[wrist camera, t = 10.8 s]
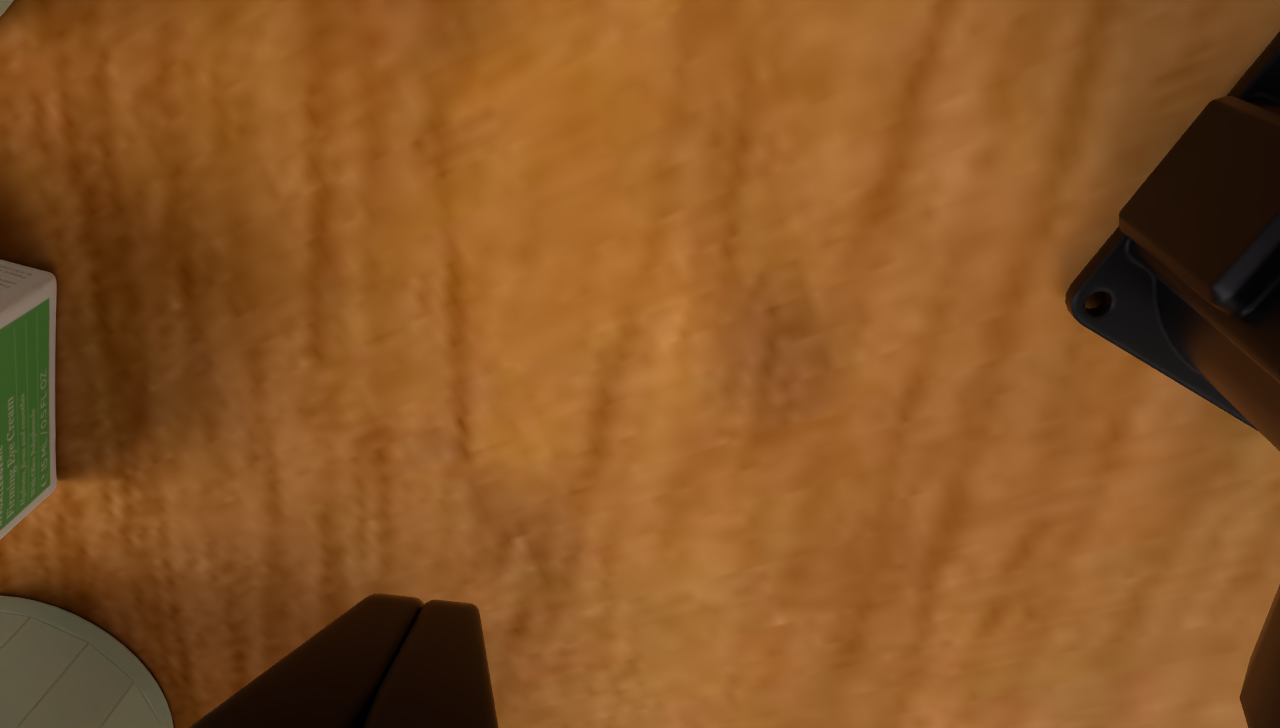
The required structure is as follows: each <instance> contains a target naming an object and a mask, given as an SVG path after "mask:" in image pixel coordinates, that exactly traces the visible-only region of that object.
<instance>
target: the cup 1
mask: <svg viewBox="0 0 1280 728" xmlns="http://www.w3.org/2000/svg"><path fill="white" fill-rule="evenodd" d="M13 1H14V0H0V16H1V15H3V14H4V12H5V11H6V10H7V8H8V7H9V6H10V5H11V3H12V2H13Z"/></svg>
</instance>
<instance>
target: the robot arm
mask: <svg viewBox="0 0 1280 728" xmlns="http://www.w3.org/2000/svg"><path fill="white" fill-rule="evenodd" d="M1100 291H1102V292H1105V299H1104V301H1103V303H1102V304H1100V305H1099V306H1098V307H1096V308H1091V309H1088V308H1085V303H1086V301H1087V299H1088V297H1089V296H1091V295H1092V294H1093V293H1096V292H1100ZM1065 303H1066V305H1067V308H1068V311H1069V312H1070V313H1071V314H1072V315H1073V317H1074V318H1075V319H1076V320H1077V321H1078V322H1079V323H1080V324H1081V325H1083V326H1085V327H1086V328H1088V329H1090V330H1091V331H1093V332H1095V333H1096V334H1098V335H1100V336H1101V337H1103V338H1105V339H1106V340H1108V341H1110V342H1111V343H1113V344H1115V345H1116V346H1118V347H1120V348H1121V349H1123V350H1125V351H1126V352H1128V353H1130V354H1131V355H1133V356H1135V357H1136V358H1138V359H1140V360H1141V361H1143V362H1145V363H1146V364H1148V365H1150V366H1151V367H1153V368H1155V369H1156V370H1158V371H1159V372H1161V373H1163V374H1164V375H1166V376H1168V377H1169V378H1171V379H1173V380H1174V381H1176V382H1178V383H1179V384H1181V385H1183V386H1184V387H1186V388H1188V389H1189V390H1191V391H1193V392H1194V393H1196V394H1198V395H1199V396H1201V397H1203V398H1204V399H1206V400H1208V401H1209V402H1211V403H1213V404H1214V405H1216V406H1218V407H1219V408H1221V409H1223V410H1224V411H1226V412H1228V413H1229V414H1231V415H1233V416H1234V417H1236V418H1238V419H1239V420H1241V421H1243V422H1244V423H1246V424H1248V425H1249V426H1251V427H1252V428H1254V429H1256V430H1257V431H1259V432H1260V433H1261V434H1262V435H1263V436H1265V437H1266V438H1267V439H1268V440H1269V441H1270V442H1271V443H1272V444H1273V445H1274V446H1275V447H1276V448H1277V449H1278V450H1279V451H1280V32H1279V33H1278V34H1277V35H1276V37H1275V38H1274V39H1273V40H1272V41H1271V43H1270V44H1269V45H1268V46H1267V48H1266V49H1265V50H1264V51H1263V52H1262V54H1261V55H1260V56H1259V57H1258V58H1257V60H1256V61H1255V62H1254V63H1253V64H1252V66H1251V67H1250V68H1249V69H1248V71H1247V72H1246V73H1245V74H1244V75H1243V77H1242V78H1241V79H1240V80H1239V81H1238V83H1237V84H1236V85H1235V86H1234V88H1233V89H1232V90H1231V91H1230V92H1229V94H1228V95H1227V96H1226V97H1223V98H1220V99H1216V100H1213V101H1211V102H1210V103H1209V104H1208V105H1207V106H1206V107H1205V109H1204V110H1203V111H1202V112H1201V114H1200V115H1199V116H1198V117H1197V118H1196V120H1195V121H1194V122H1193V123H1192V124H1191V126H1190V127H1189V128H1188V129H1187V131H1186V132H1185V133H1184V134H1183V135H1182V137H1181V138H1180V139H1179V140H1178V142H1177V143H1176V144H1175V145H1174V146H1173V148H1172V149H1171V150H1170V151H1169V153H1168V154H1167V155H1166V156H1165V157H1164V159H1163V160H1162V161H1161V162H1160V164H1159V165H1158V166H1157V167H1156V168H1155V170H1154V171H1153V172H1152V173H1151V174H1150V176H1149V177H1148V178H1147V179H1146V181H1145V182H1144V183H1143V184H1142V185H1141V187H1140V188H1139V189H1138V190H1137V192H1136V193H1135V194H1134V195H1133V196H1132V198H1131V199H1130V200H1129V201H1128V203H1127V204H1126V205H1125V206H1124V207H1123V209H1122V210H1121V211H1120V214H1119V227H1118V228H1117V229H1116V231H1115V232H1114V233H1113V234H1112V235H1111V237H1110V238H1109V239H1108V240H1107V241H1106V243H1105V244H1104V245H1103V246H1102V247H1101V249H1100V250H1099V251H1098V252H1097V254H1096V255H1095V256H1094V257H1093V258H1092V260H1091V261H1090V262H1089V263H1088V264H1087V266H1086V267H1085V268H1084V269H1083V271H1082V272H1081V273H1080V274H1079V275H1078V277H1077V278H1076V279H1075V280H1074V281H1073V283H1072V284H1071V286H1070V287H1069V289H1068V291H1067V293H1066V301H1065ZM1240 701H1241V704H1242V707H1243V711H1244V714H1245V718H1246V721H1247V724H1248V728H1280V586H1279V588H1278V591H1277V593H1276V596H1275V598H1274V601H1273V603H1272V606H1271V608H1270V611H1269V613H1268V616H1267V618H1266V621H1265V623H1264V626H1263V628H1262V631H1261V633H1260V636H1259V638H1258V641H1257V643H1256V646H1255V648H1254V651H1253V653H1252V656H1251V658H1250V662H1249V665H1248V669H1247V673H1246V676H1245V680H1244V684H1243V687H1242V691H1241V695H1240ZM189 728H498V723H497V717H496V711H495V705H494V699H493V693H492V687H491V680H490V674H489V668H488V662H487V656H486V650H485V644H484V638H483V632H482V626H481V620H480V614H479V610H478V608H477V607H476V606H475V605H473V604H470V603H461V602H451V601H442V600H431V601H429V602H427V603H425V605H424V603H423V602H422V601H421V600H420V599H418V598H415V597H406V596H397V595H388V594H373V595H370V596H368V597H366V598H365V599H363V600H362V601H360V602H359V603H358V604H356V605H355V606H354V607H352V608H351V609H350V610H348V611H347V612H346V613H344V614H343V615H341V616H340V617H339V618H337V619H336V620H335V621H333V622H332V623H331V624H329V625H328V626H326V627H325V628H324V629H322V630H321V631H320V632H318V633H317V634H316V635H314V636H313V637H312V638H310V639H309V640H307V641H306V642H305V643H303V644H302V645H301V646H299V647H298V648H297V649H295V650H294V651H292V652H291V653H290V654H288V655H287V656H286V657H284V658H283V659H282V660H280V661H279V662H278V663H276V664H275V665H273V666H272V667H271V668H269V669H268V670H267V671H265V672H264V673H263V674H261V675H260V676H258V677H257V678H256V679H254V680H253V681H252V682H250V683H249V684H248V685H246V686H245V687H244V688H242V689H241V690H239V691H238V692H237V693H235V694H234V695H233V696H231V697H230V698H229V699H227V700H226V701H225V702H223V703H222V704H220V705H219V706H218V707H216V708H215V709H214V710H212V711H211V712H210V713H208V714H207V715H205V716H204V717H203V718H201V719H200V720H199V721H197V722H196V723H195V724H193V725H192V726H191V727H189Z"/></svg>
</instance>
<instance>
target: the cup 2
mask: <svg viewBox="0 0 1280 728" xmlns="http://www.w3.org/2000/svg"><path fill="white" fill-rule="evenodd" d="M0 728H174V726H173V720H172V715H171V712H170V709H169V706H168V703H167V700H166V698H165V696H164V694H163V692H162V690H161V689H160V687H159V685H158V684H157V682H156V681H155V679H154V678H153V676H152V675H151V673H150V672H149V671H148V670H147V668H146V667H145V666H144V665H143V664H142V663H141V661H140V660H139V659H138V658H137V657H136V656H135V655H134V654H133V653H132V652H131V651H130V650H128V649H127V648H126V647H125V646H124V645H123V644H122V643H120V642H119V641H118V640H116V639H115V638H114V637H113V636H111V635H110V634H109V633H107V632H105V631H104V630H102V629H101V628H99V627H98V626H96V625H94V624H93V623H91V622H89V621H87V620H85V619H83V618H81V617H79V616H77V615H75V614H73V613H71V612H68V611H66V610H63V609H61V608H58V607H56V606H52V605H49V604H46V603H42V602H39V601H35V600H30V599H25V598H20V597H13V596H2V595H0Z"/></svg>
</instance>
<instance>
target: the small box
mask: <svg viewBox="0 0 1280 728" xmlns="http://www.w3.org/2000/svg"><path fill="white" fill-rule="evenodd" d="M56 297H57V283H56V278H55V276H54V275H53V274H52V273H50V272H47V271H43V270H39V269H35V268H32V267H28V266H24V265H20V264H16V263H12V262H8V261H5V260H1V259H0V539H2V538H3V537H4V536H5V535H6V534H7V533H8V532H9V531H10V530H12V529H13V528H14V527H15V526H16V525H17V524H18V523H19V522H20V521H21V520H22V519H24V518H25V517H26V516H27V515H28V514H29V513H30V512H31V511H33V510H34V509H35V508H36V507H37V506H38V505H39V504H40V503H41V502H42V501H43V500H45V499H46V498H47V497H48V496H49V495H50V494H51V493H52V492H53V491H54V490H55V489H56V486H57V475H56V451H55V443H56V441H55V439H56V419H55V352H56Z"/></svg>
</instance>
